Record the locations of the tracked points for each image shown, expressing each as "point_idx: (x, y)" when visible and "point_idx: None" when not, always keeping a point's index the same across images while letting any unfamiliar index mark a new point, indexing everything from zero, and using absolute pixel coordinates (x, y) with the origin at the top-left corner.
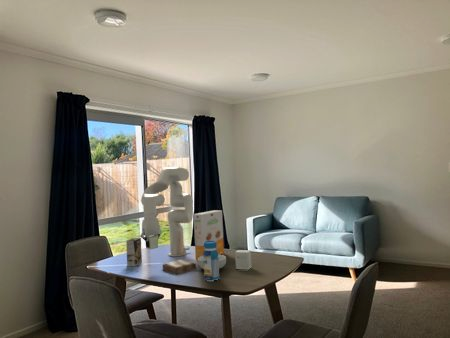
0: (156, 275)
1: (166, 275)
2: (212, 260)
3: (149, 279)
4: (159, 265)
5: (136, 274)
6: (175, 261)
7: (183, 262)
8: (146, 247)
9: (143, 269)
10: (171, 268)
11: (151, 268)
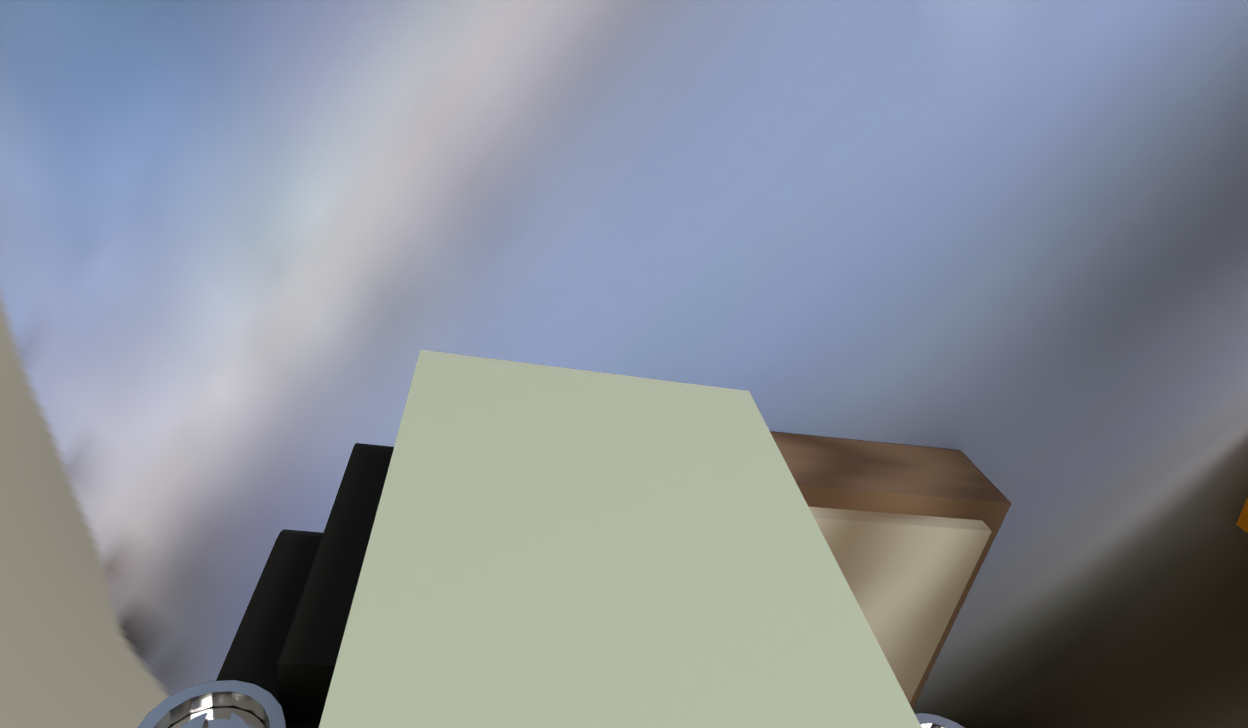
0: None
1: None
2: None
3: (147, 617)
4: (830, 96)
5: (123, 219)
6: (833, 552)
7: None
8: (414, 373)
9: (440, 32)
10: None
11: (586, 132)
